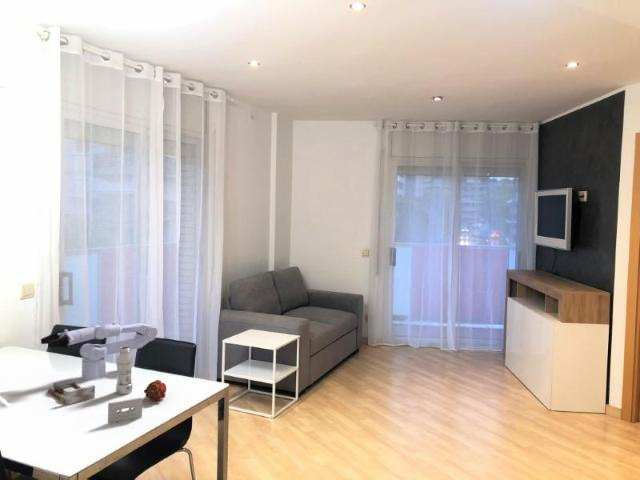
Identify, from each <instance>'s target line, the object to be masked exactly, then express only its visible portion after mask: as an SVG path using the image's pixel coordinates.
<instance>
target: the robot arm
mask: <svg viewBox="0 0 640 480" xmlns="http://www.w3.org/2000/svg"><path fill="white" fill-rule="evenodd" d="M125 333H135V334H134V338H129V339H125V340H124V339H123V340H119V341H114V342H113V341H112V342H108V343H104V344H101V343H98V344H97V343H95V344H93V343H84V344H83V345H82V346H81V347H80V349H79V354H80V356H81V379H82V380H84V381H92V380H97V379H101V378H106V369H107V367H106V366H107V364H106V360H105V359H104V358H105V357H106V356H108V355H113V354H118V353H120V348H122V347H129V348H130V351H133V350H137V349H142V348H143V347H145V345H147V344H148V343H149V342H151V341H154V340H155V339H156V337H157V335H158V333H159V329H158V328H157V327H156V326H155V325H154V326H153V325H151V324H148V323H146V322H143V323H142V322H137V323H132V324H124V325H120V324H119V323H117V322H112V323H110V324H105V323H102V325H99V324H92V325H91V326H89V327H84V328H79V329H74V330H70V331H69V330H68V329H64V331H63V332H60V333H58V331H53V332H52V333H51V334H49V335H47V336H44V337H42V338H40V344H41V345H47V346H48V347H47V348H51V349H53V348H62V349H63V348H64V349H68V348H69V346H71V345H75V344H79V343H83V342H86V341H88V342H89V341H90V340H94V339H96V340H104V339H105V338H111V337H119V336H120V334H125Z"/></svg>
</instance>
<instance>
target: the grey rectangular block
mask: <svg viewBox="0 0 640 480" xmlns="http://www.w3.org/2000/svg"><path fill="white" fill-rule="evenodd" d="M76 385H77V382H76V381H75V380H73V379H72V378H70V379H65V380H60V381H57V382H53V390H54V391H55V392H57V393H58V394H63V389H67V388H71V387H73V388H75V389H76Z"/></svg>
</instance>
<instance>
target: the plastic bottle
mask: <svg viewBox="0 0 640 480" xmlns="http://www.w3.org/2000/svg"><path fill="white" fill-rule="evenodd" d="M130 351H131V350H130V348H129V347H122V348H120V352H119V356H117V358H116V368H117V369H116V371H117V379H116V386H115V392H116V394H117V396H118V395H119V396H125V395H128V394H130V393H132V392H133V382H132V367H133V361H134V360H133V357H132V355H131V354H130Z"/></svg>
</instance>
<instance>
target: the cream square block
mask: <svg viewBox="0 0 640 480" xmlns="http://www.w3.org/2000/svg"><path fill="white" fill-rule="evenodd" d="M74 389H75V388H73V387H71V388H67V389H63V394H64V395H65V392H66V391H70V390H74Z"/></svg>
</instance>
